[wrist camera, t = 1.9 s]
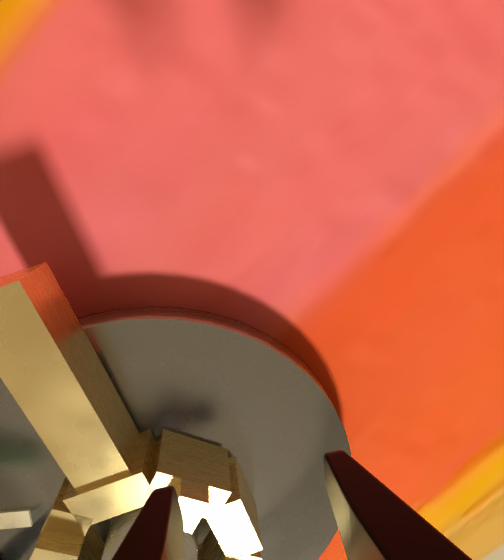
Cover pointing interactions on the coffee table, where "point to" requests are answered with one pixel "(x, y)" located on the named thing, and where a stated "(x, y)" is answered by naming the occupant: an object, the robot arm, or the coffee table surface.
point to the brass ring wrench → (107, 436)
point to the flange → (193, 426)
